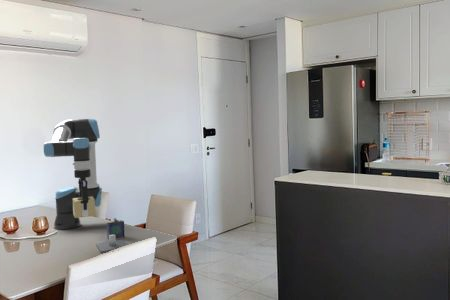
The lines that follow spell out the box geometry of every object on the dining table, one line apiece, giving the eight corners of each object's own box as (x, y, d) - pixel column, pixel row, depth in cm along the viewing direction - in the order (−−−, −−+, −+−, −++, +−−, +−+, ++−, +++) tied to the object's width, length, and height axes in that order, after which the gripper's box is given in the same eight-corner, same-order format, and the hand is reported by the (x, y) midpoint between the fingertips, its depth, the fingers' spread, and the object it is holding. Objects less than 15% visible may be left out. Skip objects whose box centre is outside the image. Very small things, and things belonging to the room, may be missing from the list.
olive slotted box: (73, 213, 209) (72, 198, 208) (92, 211, 213) (92, 196, 212) (74, 217, 200) (74, 201, 200) (95, 215, 204) (94, 199, 203)
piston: (96, 245, 214) (95, 233, 213) (123, 241, 220) (122, 230, 219) (101, 253, 201) (100, 241, 201) (129, 248, 207) (129, 236, 207)
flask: (107, 239, 224) (106, 219, 223) (107, 237, 227) (106, 218, 226) (124, 237, 227) (124, 218, 226) (124, 236, 230) (123, 217, 229)
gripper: (72, 167, 213) (74, 210, 215) (76, 172, 193) (78, 219, 195) (87, 166, 216) (89, 208, 218) (93, 171, 196) (95, 217, 198)
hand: (84, 214), depth 206 cm, fingers closed on olive slotted box, 9 cm apart
